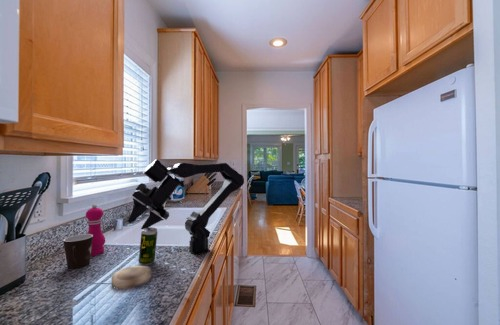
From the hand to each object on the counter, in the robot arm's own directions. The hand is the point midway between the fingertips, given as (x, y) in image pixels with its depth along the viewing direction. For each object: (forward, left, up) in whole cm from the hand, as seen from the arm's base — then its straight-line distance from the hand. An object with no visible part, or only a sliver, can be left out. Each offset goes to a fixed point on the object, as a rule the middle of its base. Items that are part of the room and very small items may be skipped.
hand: (135, 226), depth 83 cm
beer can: (-4, -1, -14) cm, 14 cm away
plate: (+3, +9, -14) cm, 17 cm away
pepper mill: (+9, -26, -14) cm, 31 cm away
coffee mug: (+16, -14, -14) cm, 26 cm away
